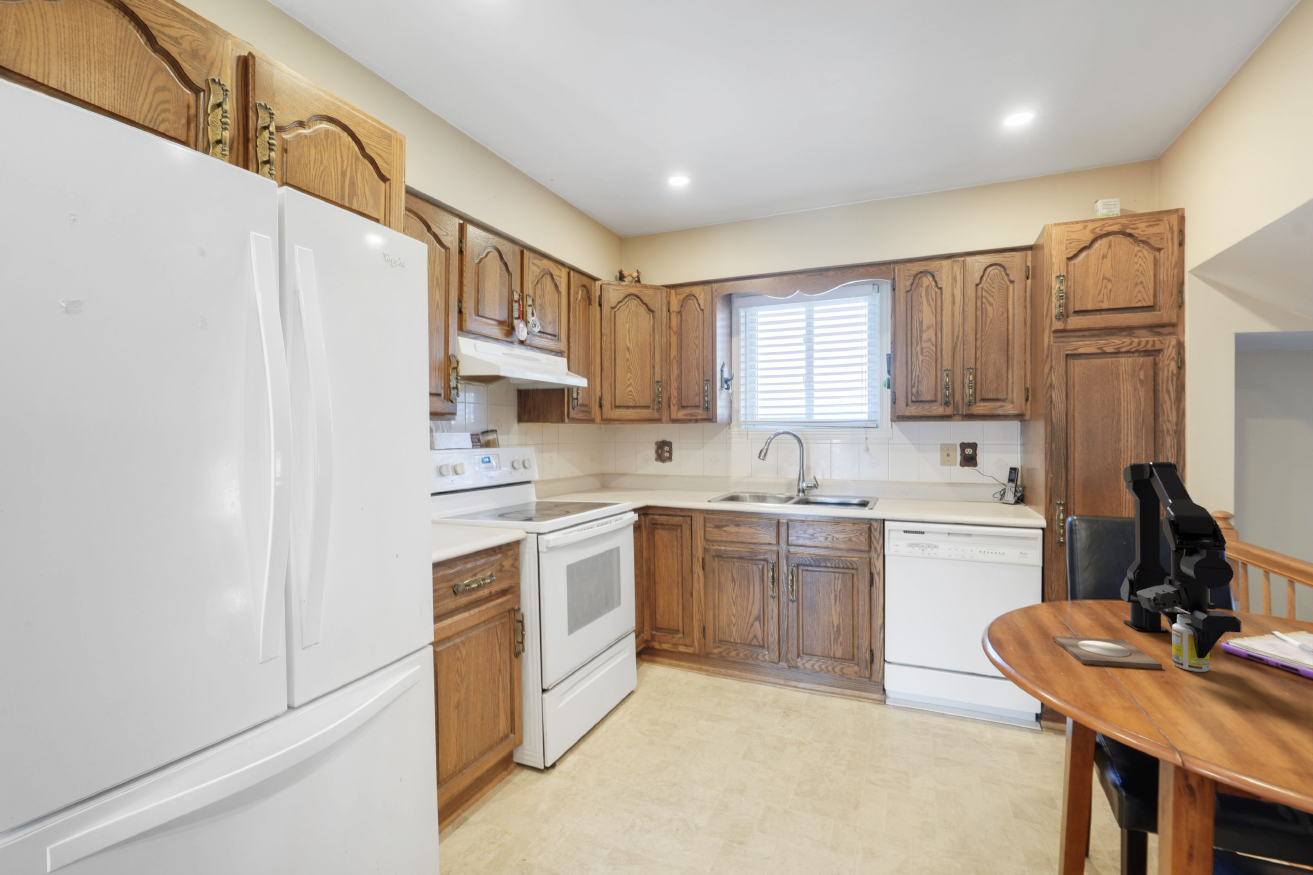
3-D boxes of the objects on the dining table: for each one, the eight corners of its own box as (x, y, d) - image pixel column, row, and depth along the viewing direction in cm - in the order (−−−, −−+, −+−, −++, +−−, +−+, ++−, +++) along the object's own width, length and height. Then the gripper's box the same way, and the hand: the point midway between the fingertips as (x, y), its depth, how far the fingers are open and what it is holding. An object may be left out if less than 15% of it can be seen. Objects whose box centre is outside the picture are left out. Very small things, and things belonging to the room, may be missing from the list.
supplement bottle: (1215, 669, 116) (1214, 618, 116) (1201, 675, 114) (1201, 622, 114) (1180, 659, 121) (1180, 610, 121) (1166, 665, 119) (1166, 615, 119)
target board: (1052, 640, 134) (1052, 634, 134) (1123, 643, 131) (1123, 638, 131) (1082, 663, 120) (1082, 658, 120) (1161, 669, 117) (1161, 663, 117)
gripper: (1118, 563, 128) (1119, 634, 128) (1172, 585, 110) (1173, 667, 110) (1177, 565, 126) (1178, 637, 126) (1243, 587, 108) (1244, 672, 108)
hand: (1190, 652), depth 117 cm, fingers closed on supplement bottle, 6 cm apart
